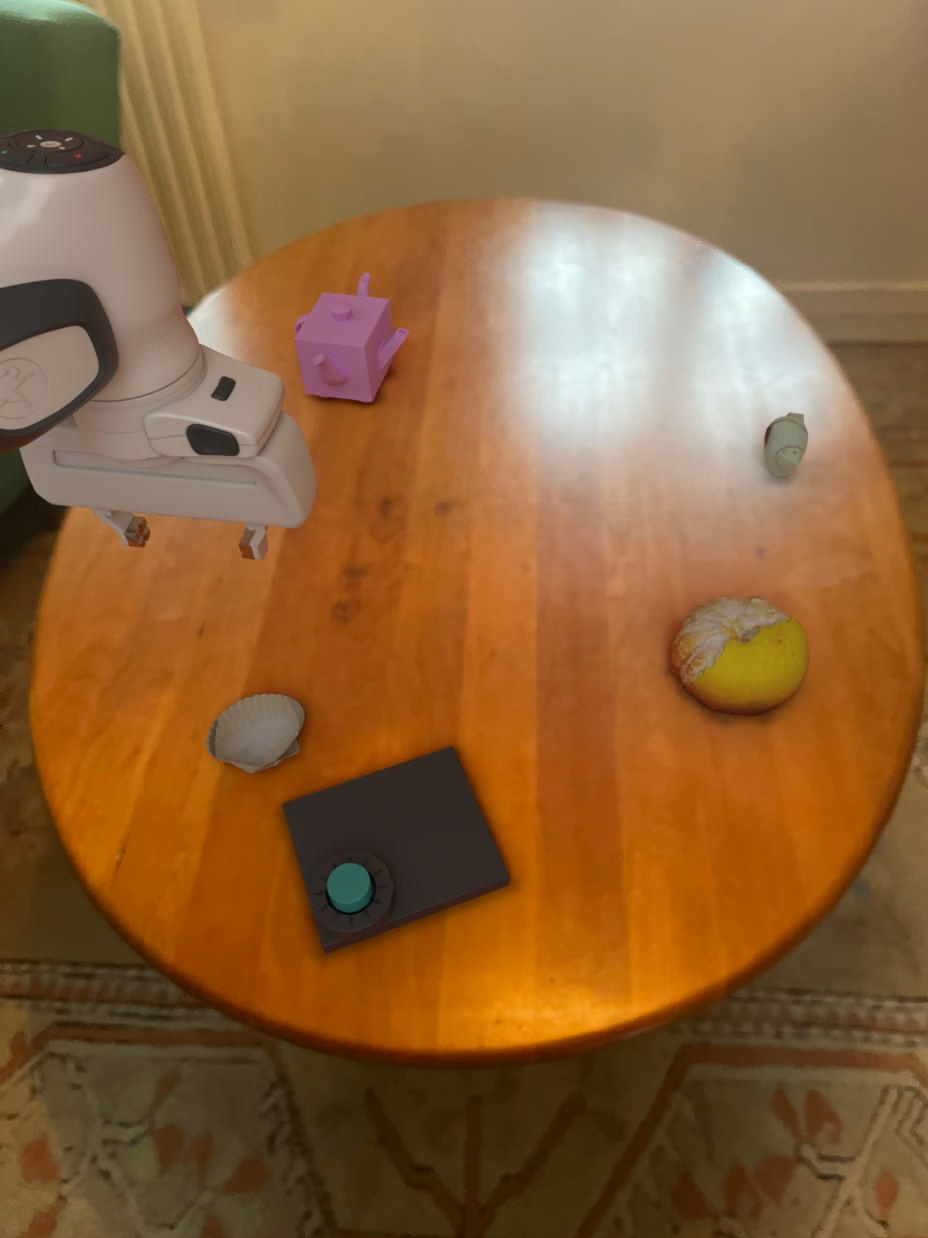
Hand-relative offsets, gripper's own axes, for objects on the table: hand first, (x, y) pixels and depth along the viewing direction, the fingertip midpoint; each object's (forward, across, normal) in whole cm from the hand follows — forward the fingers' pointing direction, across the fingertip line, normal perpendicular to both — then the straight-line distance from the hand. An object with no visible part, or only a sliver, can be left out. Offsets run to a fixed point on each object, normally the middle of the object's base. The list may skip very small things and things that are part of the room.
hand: (196, 547), depth 72 cm
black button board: (+15, +17, -14) cm, 27 cm away
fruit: (+15, +42, +6) cm, 45 cm away
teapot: (+15, 0, +42) cm, 44 cm away
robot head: (+15, +46, +32) cm, 59 cm away
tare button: (+13, +15, -19) cm, 28 cm away
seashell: (+16, +4, -7) cm, 18 cm away
